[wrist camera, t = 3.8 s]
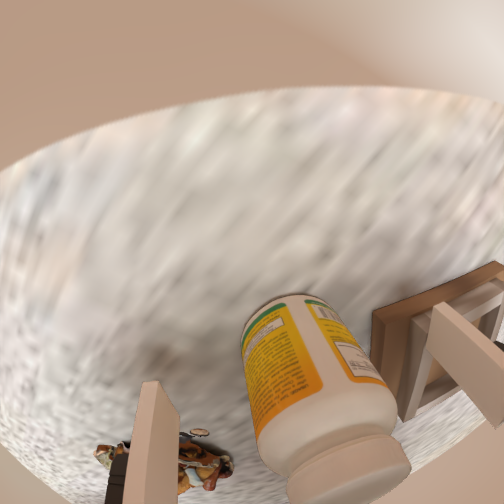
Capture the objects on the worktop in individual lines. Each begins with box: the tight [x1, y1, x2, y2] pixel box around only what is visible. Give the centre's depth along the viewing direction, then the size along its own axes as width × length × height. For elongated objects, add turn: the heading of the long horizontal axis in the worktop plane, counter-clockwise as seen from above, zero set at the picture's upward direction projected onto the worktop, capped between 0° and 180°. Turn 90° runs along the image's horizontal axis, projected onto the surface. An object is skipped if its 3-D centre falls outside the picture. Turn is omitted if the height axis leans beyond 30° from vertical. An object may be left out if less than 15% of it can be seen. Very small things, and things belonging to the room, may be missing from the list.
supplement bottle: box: [241, 295, 412, 504], centre depth 10 cm, size 5×5×10 cm
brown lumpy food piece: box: [93, 429, 234, 495], centre depth 17 cm, size 7×12×4 cm, turn 110°
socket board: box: [370, 261, 504, 423], centre depth 16 cm, size 12×9×3 cm
